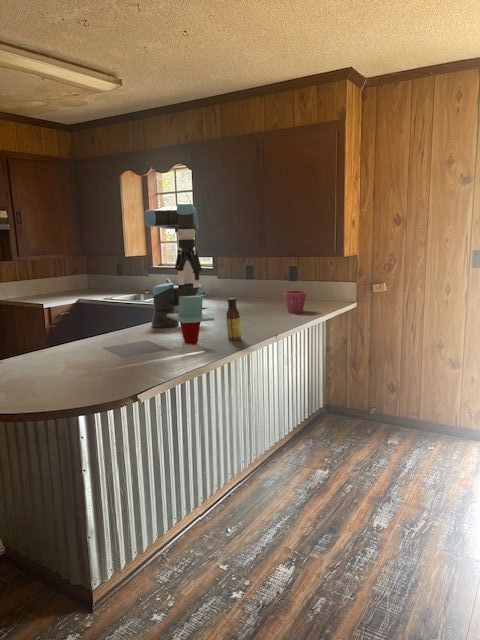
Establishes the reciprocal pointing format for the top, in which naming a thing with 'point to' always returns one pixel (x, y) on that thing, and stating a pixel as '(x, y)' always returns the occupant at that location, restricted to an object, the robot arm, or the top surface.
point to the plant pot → (295, 300)
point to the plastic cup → (190, 332)
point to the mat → (135, 348)
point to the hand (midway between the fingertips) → (188, 286)
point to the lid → (190, 310)
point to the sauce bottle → (233, 320)
